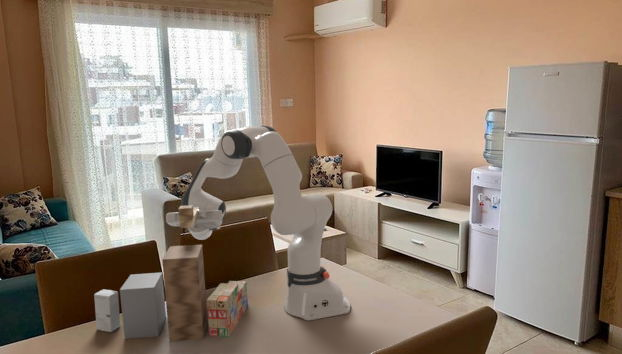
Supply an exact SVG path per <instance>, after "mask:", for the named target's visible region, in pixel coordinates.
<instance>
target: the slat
mask: <svg viewBox="0 0 622 354" xmlns="http://www.w3.org/2000/svg"><path fill="white" fill-rule="evenodd" d="M198 210H199V207H193V205H188V206H182V205H180V206H179V207H178V212H179V220H180V226H179V228H180V229H186V228H191V227H193V226H194V224H195V222H196V220H197V218H198Z"/></svg>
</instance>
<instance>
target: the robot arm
mask: <svg viewBox="0 0 622 354" xmlns="http://www.w3.org/2000/svg"><path fill="white" fill-rule="evenodd" d="M249 158H257V159H259V161H260V164H261V167H262V169H263V170H264V173H265V176H266V177H267V180H268V182H269V184H270V186H271V190H272V194H273V208H272V211H271V212H270V223H271V226H272V229H274V231H275V232H276V233H277V234H278V235H281V236H292V235H293V236H292V239H291V241H289V244H288V246H287V269H286V284H287V295H286V301H285V307H284V310H285V312H287V314H289V315H291V316H294V317H297V318H301V319H303V320H304V321H313V320H318V319H319V320H320V319H324V318H325V319H326V318H329V317H336V316H340V315H345V314H349V313H350V311H351V304H350V300H349V299H348V297H346V296H345V295H343V291H342V288H341V287H340V285H338V283H336V282H335V281H333V280H331V278H330V273H329V272H328V271H327V269H326V268H325V266H321V248H322V241H323V237H324V233H325V228H326V225H327V222H328V221H329V219H330V218H331V216H332V214H333V205H332V204H333V203H332V202H331V200H330V199H329V197H327V196H326V195H325V194H322V193H311V194H306V195H304V196H302V192H301V188H300V185H301V184H300V183H301V182H302V179H303V173H302V171H301V169H300V167H299V165H298V163H297V161H296V159H295V157H294V155H293V152H292V150H291V148H290V147H289V146H288V143H286V140H285V139H284V138H283V137H282V135H281V134H280V133H279V132H277V131H276V129H275V128H273V127H272V126H268V125H260V126H258V125H256V126H255V125H254V126H253V125H252V126H243V127H238V128H233V129H228V130H226V131H224V132H223V133H222V134H221V136H220V137H219V140H218V141H217V144H216V146H215V148H214V151H213V155H212V156H211V157H210V158H206V159H204V160H203V161H202V162H201V164H199V167H198V168H197V170H196V172H195V174H194V176H193V177H192V179H191V182H190V183H189V185H188V186H187V188H186V190H185V191H184V193H183V194H182V197H181V199H180V203H181V206H188V205H193V207H199V210H198V218H197V220H196V222H195V224H194V226H193V227H191V228H187V230H188V231H189V234H190V235H192V237H193V238H194V239H197V240H199V241H200V240H201V241H202V240H203V241H204V240H207V239H208V238H210V236H211V235H212V234H213V231H214V230H220V229H221V225H222V224H223V220H224V218H225V216H226V212H227V207H226V206H227V205H226V202H225V201H223V200H221V199H220V198H218V197H216V196H213V195H212V194H210V193H209V192H206V191H204V190H203V188H202V186H203V185H204V182H205V180H206V179H207V178H215V179H221V180H222V179H229V178H233V176H236V175H237V174H238V172H239V170H240V168H241V166H242V164H243V160H244V159H249ZM165 222H166V223H167V225H169V226H171V227H180V220H179V211H178V212H177V211H176V212H168V213H166V214H165Z"/></svg>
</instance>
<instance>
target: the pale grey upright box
mask: <svg viewBox="0 0 622 354" xmlns="http://www.w3.org/2000/svg"><path fill="white" fill-rule="evenodd" d="M119 295H120V304H121V305H120V307H121V315H122V324H123V333H124V339H125V340H126V339H129V340H131V339H139V338H150V337H159V336H160V334H161V331H162V328H163V326H164V323H165V321H166V318H167V310H166V298H165V286H164V275H163V272H161V271H160V272H148V273H135V274H129V276H128V278H127V279H126V280H125V282H124V283H123V284H122V286H121V287H120V288H119Z"/></svg>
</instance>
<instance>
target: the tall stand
mask: <svg viewBox="0 0 622 354" xmlns="http://www.w3.org/2000/svg"><path fill="white" fill-rule="evenodd" d="M203 251H204V250H203V244H188V245H186V244H185V245H172V246H171V245H170V246H169V247H168V248H167V251H166V253H165V255H164V256H163V258H162V271H163V272H162V274H163V285H164V297H165V309H166V318H167V328H168V329H167V330H168V339H169V342H171V343H172V342H180V341H181V342H182V341H193V340H204V338H205V333H206V332H205V331H206V327H207V323H208V313H207V297H206V295H207V294H206V282H205V281H206V280H205V265H204V254H203Z"/></svg>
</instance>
